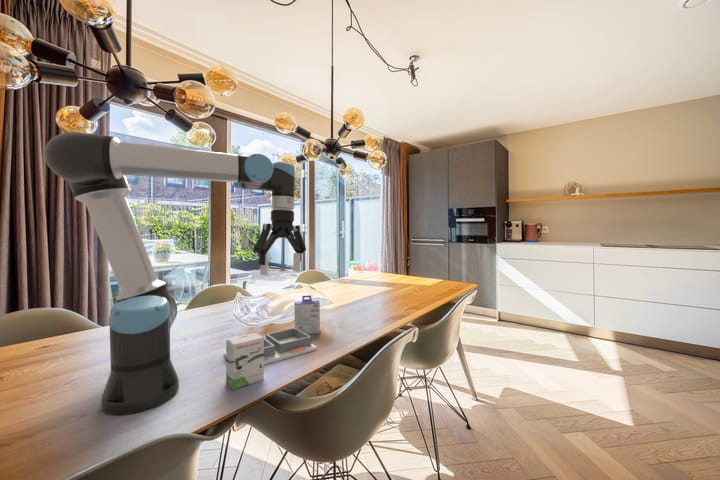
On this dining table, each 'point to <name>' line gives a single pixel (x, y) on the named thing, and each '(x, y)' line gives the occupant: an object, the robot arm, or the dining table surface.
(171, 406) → the dining table surface
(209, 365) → the dining table surface
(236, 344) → the ink box
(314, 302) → the ink cartridge box
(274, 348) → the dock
